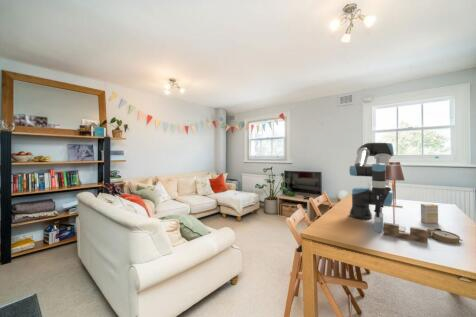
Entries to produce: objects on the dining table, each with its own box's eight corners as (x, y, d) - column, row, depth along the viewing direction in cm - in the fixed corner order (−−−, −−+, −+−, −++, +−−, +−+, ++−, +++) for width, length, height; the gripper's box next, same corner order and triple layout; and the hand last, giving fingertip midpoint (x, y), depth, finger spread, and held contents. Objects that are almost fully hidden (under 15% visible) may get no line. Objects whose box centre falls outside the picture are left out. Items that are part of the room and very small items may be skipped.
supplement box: (432, 221, 149) (432, 203, 148) (438, 223, 144) (438, 205, 144) (420, 221, 149) (420, 203, 149) (425, 223, 145) (425, 205, 144)
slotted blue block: (382, 232, 129) (381, 217, 129) (374, 231, 131) (374, 215, 131) (383, 228, 137) (383, 213, 136) (376, 226, 139) (375, 212, 139)
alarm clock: (452, 240, 110) (421, 226, 124) (450, 248, 111) (419, 233, 125) (465, 237, 113) (433, 224, 127) (463, 245, 114) (432, 231, 128)
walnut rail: (383, 234, 126) (383, 223, 125) (383, 233, 128) (383, 222, 128) (427, 243, 113) (427, 230, 113) (427, 241, 115) (427, 229, 115)
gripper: (384, 190, 121) (384, 225, 122) (387, 185, 141) (387, 216, 141) (369, 188, 126) (369, 223, 126) (374, 184, 146) (374, 214, 146)
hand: (378, 219), depth 134 cm, fingers open, 13 cm apart
